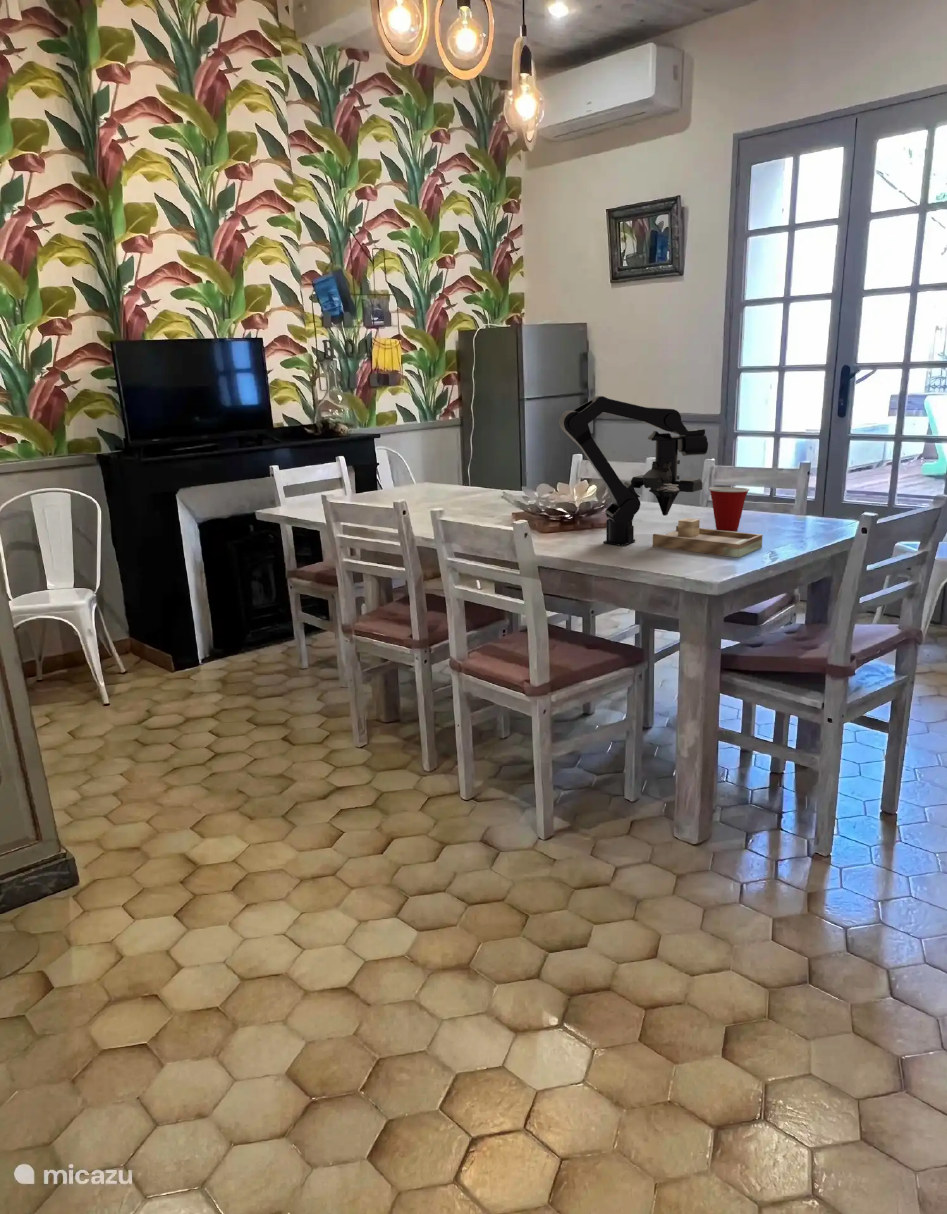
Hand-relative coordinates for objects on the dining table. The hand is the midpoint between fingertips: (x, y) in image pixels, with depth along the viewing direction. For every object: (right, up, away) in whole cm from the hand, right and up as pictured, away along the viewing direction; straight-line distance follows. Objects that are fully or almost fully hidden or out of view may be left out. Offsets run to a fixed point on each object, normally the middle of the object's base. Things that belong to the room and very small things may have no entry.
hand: (665, 515), depth 224 cm
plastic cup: (+20, -3, +10) cm, 22 cm away
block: (+6, -5, -3) cm, 8 cm away
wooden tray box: (+9, -9, -9) cm, 15 cm away
